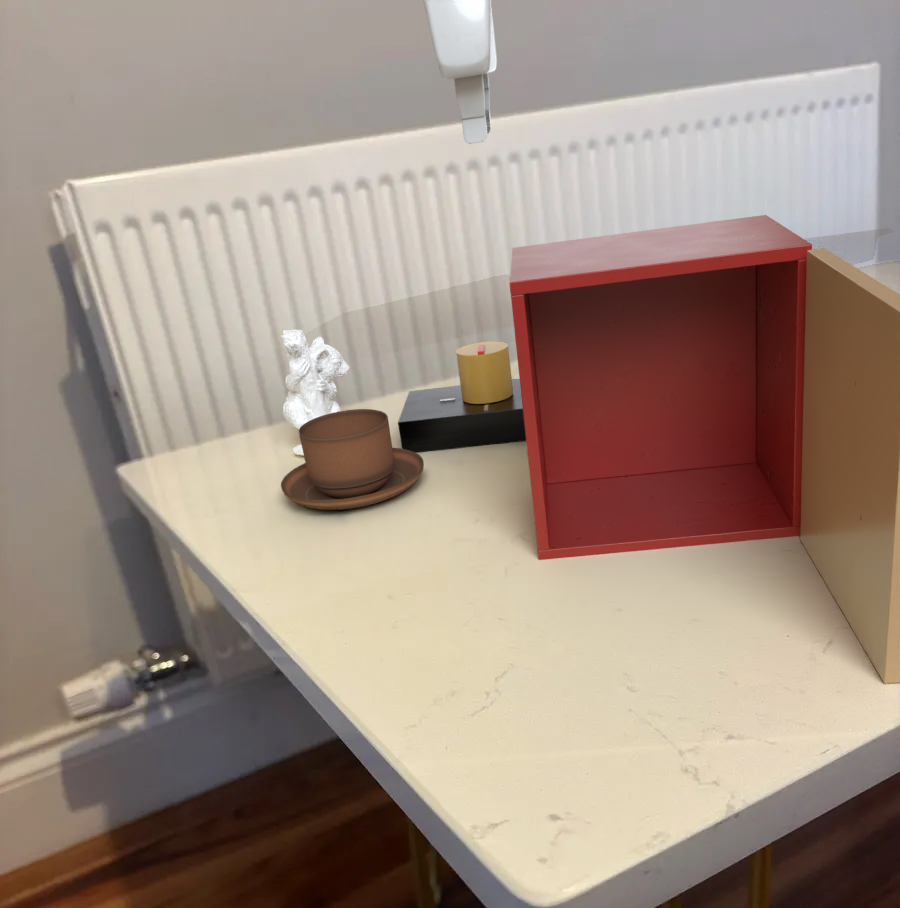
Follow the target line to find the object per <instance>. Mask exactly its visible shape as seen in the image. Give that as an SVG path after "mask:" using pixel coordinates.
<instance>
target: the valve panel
mask: <svg viewBox="0 0 900 908" xmlns="http://www.w3.org/2000/svg"><path fill="white" fill-rule="evenodd" d="M512 386H513V395H512V396H510V397H509V398H507V399H504V400H501V401H498V402H493V403H486V404H471V403H466V402H464V401H463V400H462V393H461V386H460V384H459V385H453V386H452V385H451V386H443V387H433V388H425V389H416V390H409V391H408V393H407V396H406V399H405V402H404V405H403V408H402V411H401V413H400V416H399V419H398V421H397V424H398V432H399V438H400V445H401V449H406V450H410V451H413V452H415V453H422V452H432V451H442V450H450V449H462V448H469V447H471V448H472V447H478V446H480V447H481V446H489V445H498V444H507V443H516V442H526V435H525V425H524V416H523V406H522V397H521V387H520V378H512Z"/></svg>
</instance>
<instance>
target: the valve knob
mask: <svg viewBox="0 0 900 908" xmlns="http://www.w3.org/2000/svg"><path fill="white" fill-rule="evenodd" d="M509 350H510V349H509V344H508V343H507V342H503V341H498V340H497V341H494V340H493V341H490V340H489V341H480V342H475V343H471V344H467V345H464V346H462V347H459V348H458V349H456V351H455V355H456V361H457V369H458V377H459V385H460V386H461V393H462V400H463V401H464V402H466V403H471V404H486V403H493V402H498V401H501V400H504V399H507V398H509V397H510V396H512V395H513V386H512V379H513V378H512V377H513V376H512V367H511V359H510V358H511V357H510V351H509Z"/></svg>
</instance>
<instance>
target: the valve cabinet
mask: <svg viewBox="0 0 900 908" xmlns="http://www.w3.org/2000/svg"><path fill="white" fill-rule="evenodd" d="M807 250H813V244H812V243H811V242H809V241H808V240H806V239H805V238H802V237H801V236H800V235H798V234H797V233H795V232H794V231H792V230H790V229H788V228H787V227H786V226H784V225H783V224H782V223H779V222H778V221H776V220H775V219H774V218H771V217H770V216H768V215H767V214H762V215H761V214H760V215H755V216H754V215H753V216H747V217H739V218H732V219H731V218H730V219H724V220H717V221H715V220H714V221H708V222H702V223H699V222H698V223H692V224H686V225H685V224H684V225H677V226H669V227H662V228H653V229H647V230H646V229H645V230H639V231H630V232H623V233H615V234H608V235H600V236H593V237H585V238H577V239H568V240H562V241H553V242H546V243H538V244H530V245H524V246H522V245H521V246H515V247H512V248H511V260H510V261H511V262H510V274H509V291H510V298H511V299H510V301H511V310H512V320H513V330H514V339H515V349H516V356H517V357H516V358H517V359H516V360H517V368H518V377H519V378H518V379H520V387H521V397H522V406H523V416H524V425H525V435H526V441H525V444H526V453H527V462H528V471H529V481H530V491H531V501H532V508H533V509H532V511H533V518H534V519H533V520H534V529H535V537H536V547H537V557H538V561H546V560H555V559H556V560H557V559H567V558H577V557H586V556H587V557H589V556H598V555H599V556H600V555H608V554H620V553H630V552H631V553H632V552H642V551H652V550H653V551H654V550H662V549H663V550H664V549H674V548H684V547H695V546H705V545H706V546H707V545H717V544H727V543H738V542H740V543H741V542H750V541H761V540H770V539H782V538H791V537H792V538H793V537H794V538H795V537H800V533H801V489H802V445H803V401H804V357H805V313H806V269H807Z"/></svg>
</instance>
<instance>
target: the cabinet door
mask: <svg viewBox="0 0 900 908" xmlns="http://www.w3.org/2000/svg"><path fill="white" fill-rule="evenodd" d="M799 538H800V542H801V543H802V545H803V547H804V549H805V550H806V552H807V554H808V556H809V557H810V559H811V560H812V562H813V564H814V566H815V568H816V570H817V571H818V573H819V575H820V576H821V578H822V579H823V581H824V583H825V585H826V586H827V588H828V590H829V591H830V593H831V595H832V597H833V598H834V600H835V602H836V603H837V605H838V607H839V609H840V610H841V612H842V614H843V615H844V617H845V619H846V621H847V623H848V624H849V626H850V627H851V629H852V631H853V633H854V634H855V637H856V638H857V639H858V641H859V643H860V645H861V646H862V648H863V650H864V652H865V654H866V655H867V656H868V658H869V660H870V662H871V664H872V665H873V667H874V669H875V670H876V672H877V674H878V676H879V677H880V679H881V680H882V683H883V684H884V685H886V684H887V685H888V684H900V293H898V292H896V291H895V290H893V289H891V288H890V287H889V286H887V285H885V284H883V282H880V281H878V279H876V278H874V277H872V276H871V275H869V274H867V273H866V272H864V271H862V270H860V269H859V268H857V267H856V266H854V265H853V264H851V263H849V262H848V261H846V260H844V259H843V258H841V257H839V256H838V255H836V254H834V253H833V252H831V251H830V250H828V249H826V248H824V247H822V248H814V249H813V248H812V250H807V269H806V313H805V357H804V401H803V445H802V489H801V533H800V536H799Z"/></svg>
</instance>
